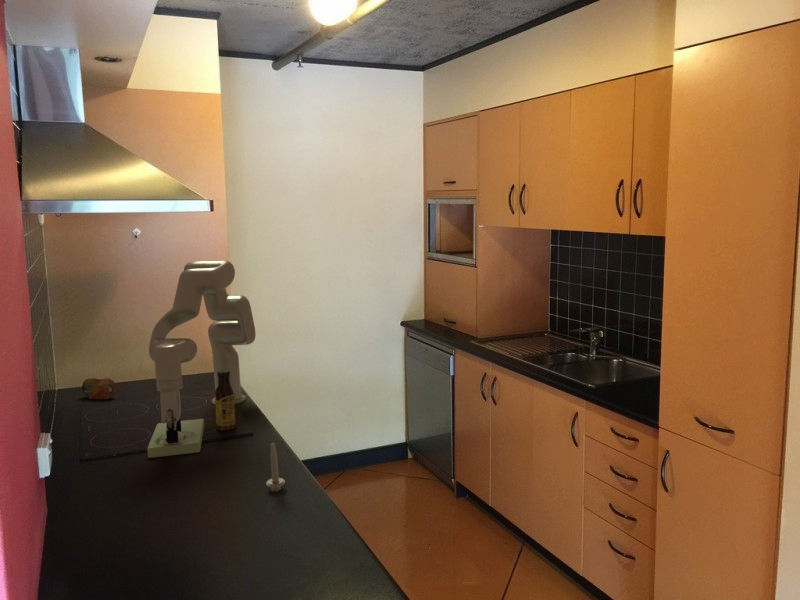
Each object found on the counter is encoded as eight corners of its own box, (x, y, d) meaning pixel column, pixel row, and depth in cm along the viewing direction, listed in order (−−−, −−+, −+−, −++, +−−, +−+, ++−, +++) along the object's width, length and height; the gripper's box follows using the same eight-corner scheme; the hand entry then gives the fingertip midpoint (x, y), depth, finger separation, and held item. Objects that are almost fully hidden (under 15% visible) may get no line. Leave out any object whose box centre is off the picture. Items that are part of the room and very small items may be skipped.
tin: (82, 398, 265) (80, 378, 263) (88, 396, 268) (86, 376, 266) (113, 400, 260) (111, 379, 259) (118, 398, 263) (116, 377, 262)
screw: (268, 495, 168) (265, 487, 173) (287, 491, 170) (283, 484, 174) (265, 446, 166) (262, 440, 171) (283, 443, 168) (280, 437, 172)
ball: (166, 448, 201) (168, 447, 206) (183, 446, 203) (185, 445, 207) (165, 431, 202) (168, 431, 207) (182, 429, 203) (184, 429, 208)
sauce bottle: (224, 433, 217) (220, 374, 214) (213, 429, 220) (208, 372, 218) (240, 427, 222) (236, 370, 219) (228, 424, 226) (224, 368, 223)
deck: (158, 432, 220) (157, 423, 220) (204, 427, 223) (203, 418, 223) (148, 458, 197) (147, 448, 196) (199, 452, 200) (199, 442, 200)
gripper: (160, 378, 207) (165, 429, 210) (152, 392, 191) (158, 448, 193) (185, 375, 209) (189, 427, 211) (179, 390, 192) (184, 445, 195)
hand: (174, 437), depth 202 cm, fingers open, 9 cm apart
